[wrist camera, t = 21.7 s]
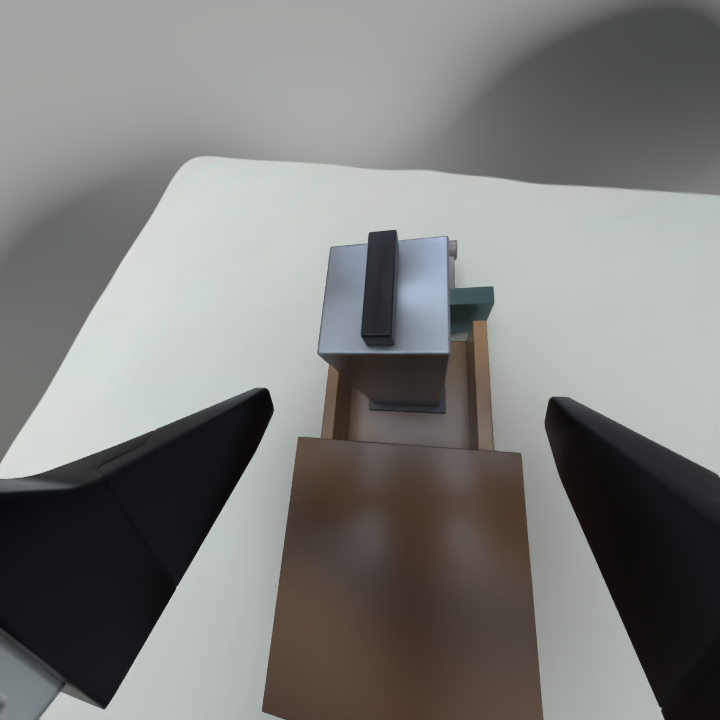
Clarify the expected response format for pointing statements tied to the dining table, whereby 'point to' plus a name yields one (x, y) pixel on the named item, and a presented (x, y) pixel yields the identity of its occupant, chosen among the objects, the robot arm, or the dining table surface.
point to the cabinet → (404, 587)
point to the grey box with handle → (390, 320)
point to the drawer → (462, 388)
